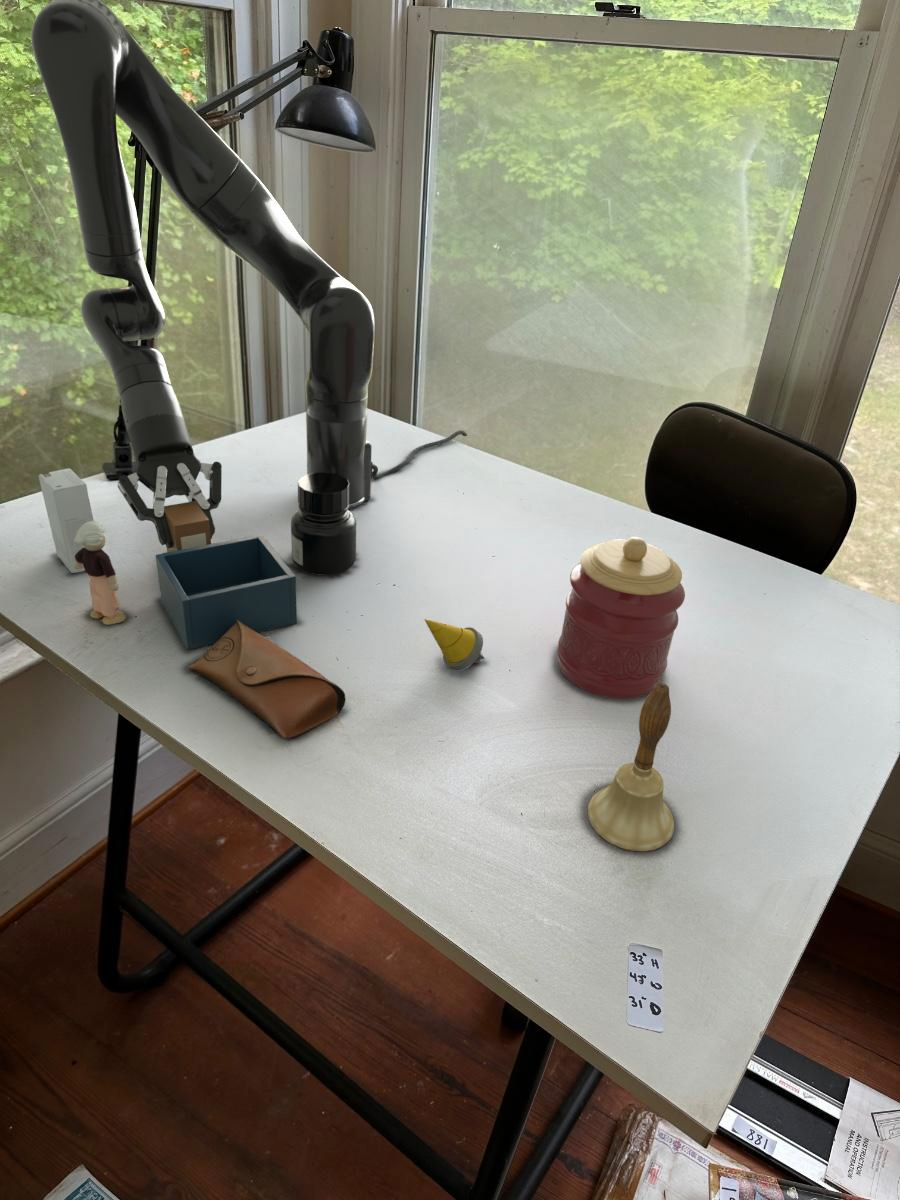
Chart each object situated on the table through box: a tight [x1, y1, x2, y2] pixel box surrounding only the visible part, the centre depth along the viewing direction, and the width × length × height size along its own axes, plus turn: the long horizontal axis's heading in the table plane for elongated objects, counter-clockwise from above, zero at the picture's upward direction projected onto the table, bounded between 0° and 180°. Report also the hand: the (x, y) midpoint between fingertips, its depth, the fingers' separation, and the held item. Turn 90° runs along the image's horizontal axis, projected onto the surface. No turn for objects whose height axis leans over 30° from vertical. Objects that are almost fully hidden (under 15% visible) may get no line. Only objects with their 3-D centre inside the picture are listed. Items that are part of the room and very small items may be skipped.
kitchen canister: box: [556, 536, 686, 700], centre depth 98 cm, size 13×13×18 cm
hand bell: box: [587, 682, 675, 852], centre depth 77 cm, size 8×8×16 cm
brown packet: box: [164, 501, 212, 553], centre depth 113 cm, size 4×6×8 cm
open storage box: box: [155, 534, 298, 651], centre depth 105 cm, size 14×12×7 cm
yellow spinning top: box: [424, 618, 486, 672], centre depth 99 cm, size 5×5×10 cm
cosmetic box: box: [38, 467, 94, 574], centre depth 111 cm, size 6×4×12 cm
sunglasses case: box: [187, 620, 346, 739], centre depth 94 cm, size 18×7×7 cm
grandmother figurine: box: [74, 520, 127, 626], centre depth 101 cm, size 8×4×13 cm, turn 65°
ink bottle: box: [290, 472, 358, 576], centre depth 116 cm, size 10×9×12 cm
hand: (189, 542), depth 112 cm, fingers closed on brown packet, 4 cm apart
